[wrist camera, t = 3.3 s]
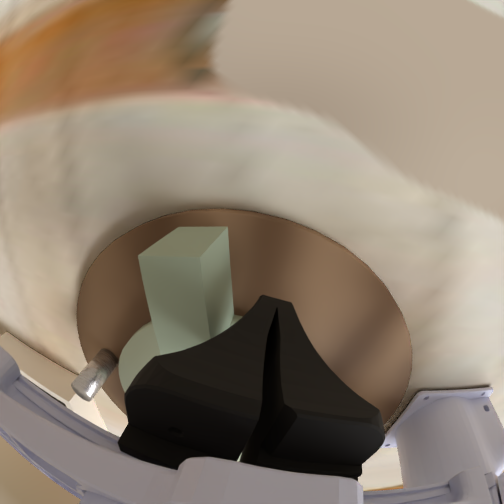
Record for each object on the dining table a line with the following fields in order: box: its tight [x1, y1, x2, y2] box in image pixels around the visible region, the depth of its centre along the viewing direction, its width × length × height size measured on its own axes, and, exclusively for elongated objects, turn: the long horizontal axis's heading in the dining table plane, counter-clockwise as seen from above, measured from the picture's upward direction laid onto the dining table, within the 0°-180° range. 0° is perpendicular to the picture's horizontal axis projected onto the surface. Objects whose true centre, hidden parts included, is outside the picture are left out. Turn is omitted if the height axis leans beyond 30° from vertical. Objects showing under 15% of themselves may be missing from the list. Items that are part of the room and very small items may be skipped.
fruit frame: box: [0, 332, 109, 432], centre depth 24 cm, size 15×15×4 cm
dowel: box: [71, 348, 119, 402], centre depth 17 cm, size 2×2×5 cm
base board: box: [77, 208, 412, 425], centre depth 16 cm, size 25×25×6 cm
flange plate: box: [118, 227, 242, 462], centre depth 14 cm, size 20×15×4 cm
